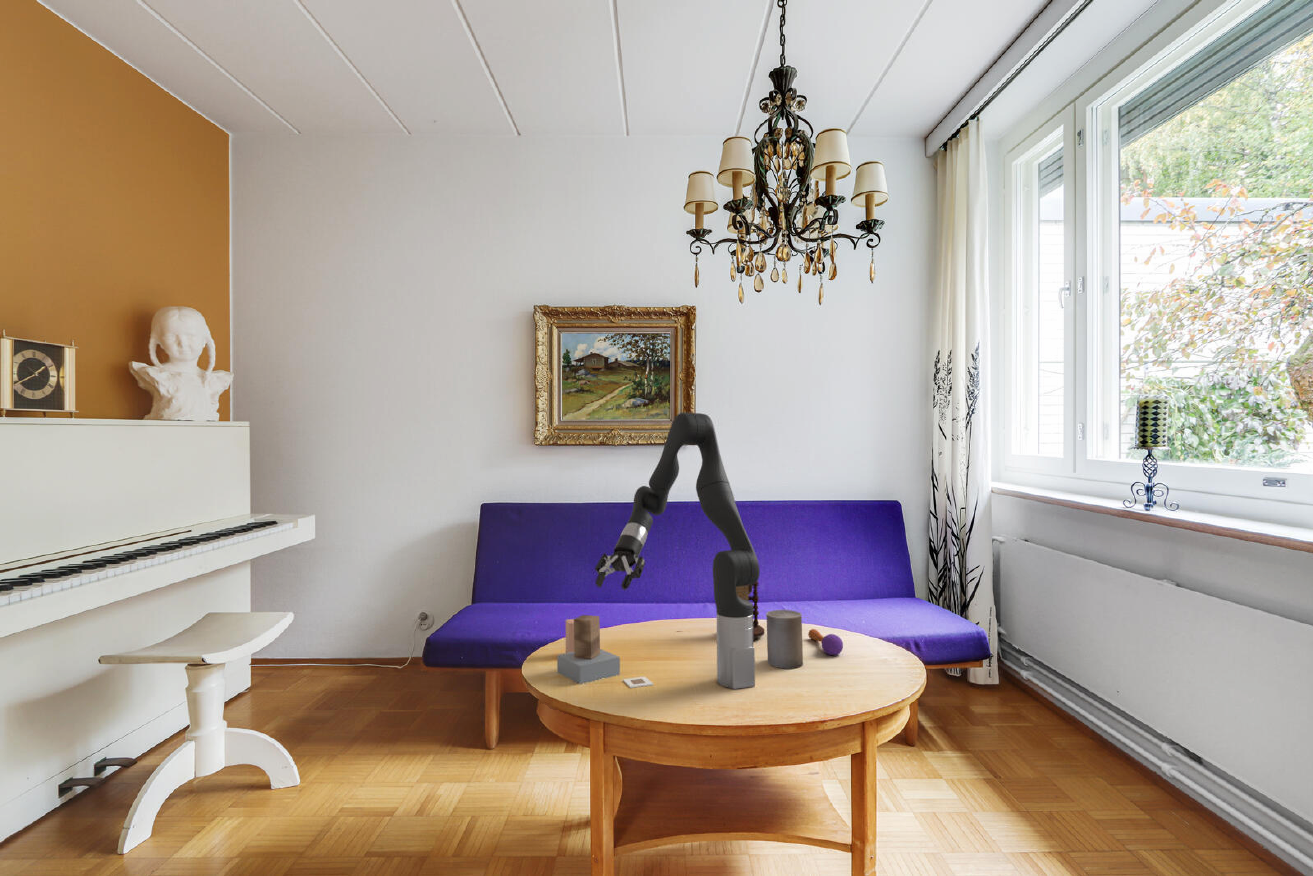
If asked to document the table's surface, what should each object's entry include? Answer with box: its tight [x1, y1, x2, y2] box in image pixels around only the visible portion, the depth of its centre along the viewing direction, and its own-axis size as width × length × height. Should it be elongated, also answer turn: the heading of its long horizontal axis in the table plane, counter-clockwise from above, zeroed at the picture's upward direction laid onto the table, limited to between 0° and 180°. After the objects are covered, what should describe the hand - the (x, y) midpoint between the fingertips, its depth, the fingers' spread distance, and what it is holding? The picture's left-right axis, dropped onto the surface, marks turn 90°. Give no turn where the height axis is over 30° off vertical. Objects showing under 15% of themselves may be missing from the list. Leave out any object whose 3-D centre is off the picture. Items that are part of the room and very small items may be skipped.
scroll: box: [736, 581, 765, 642], centre depth 207 cm, size 15×15×20 cm
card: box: [622, 676, 654, 689], centre depth 164 cm, size 6×6×1 cm
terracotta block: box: [565, 618, 575, 653], centre depth 188 cm, size 5×5×10 cm
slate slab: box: [556, 648, 621, 685], centre depth 171 cm, size 12×12×5 cm
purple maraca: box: [807, 628, 844, 656], centre depth 194 cm, size 6×6×20 cm
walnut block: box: [573, 614, 601, 659], centre depth 172 cm, size 5×5×10 cm
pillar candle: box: [765, 608, 804, 669], centre depth 179 cm, size 10×10×15 cm
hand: (610, 587), depth 182 cm, fingers open, 8 cm apart
